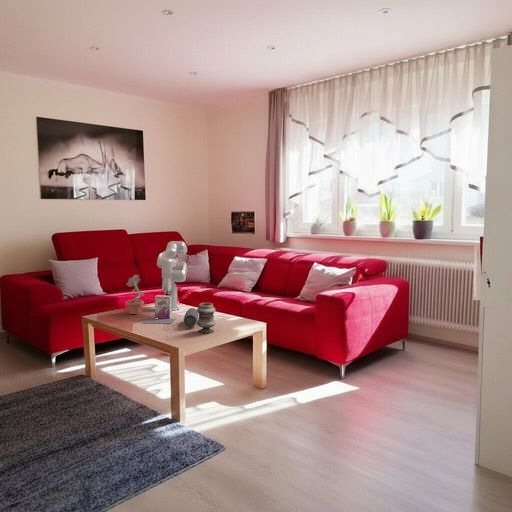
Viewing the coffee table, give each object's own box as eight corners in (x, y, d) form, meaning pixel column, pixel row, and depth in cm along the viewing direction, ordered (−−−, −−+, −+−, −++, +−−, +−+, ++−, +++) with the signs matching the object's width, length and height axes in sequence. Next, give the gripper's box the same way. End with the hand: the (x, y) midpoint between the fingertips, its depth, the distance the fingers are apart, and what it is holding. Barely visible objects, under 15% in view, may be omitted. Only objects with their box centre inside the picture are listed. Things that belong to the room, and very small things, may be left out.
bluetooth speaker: (197, 328, 299) (197, 314, 298) (183, 329, 298) (182, 314, 297) (199, 321, 321) (199, 307, 320) (185, 321, 320) (185, 307, 320)
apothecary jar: (195, 333, 286) (195, 305, 285) (198, 328, 298) (198, 302, 297) (214, 334, 286) (214, 305, 284) (216, 329, 298) (216, 302, 296)
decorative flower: (137, 311, 353) (136, 272, 350) (148, 313, 345) (148, 274, 342) (121, 314, 341) (120, 274, 338) (133, 316, 333) (132, 276, 330)
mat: (148, 318, 326) (148, 318, 326) (176, 319, 325) (176, 318, 325) (142, 323, 312) (142, 322, 312) (171, 324, 311) (171, 323, 311)
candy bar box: (154, 318, 327) (154, 296, 325) (157, 317, 332) (156, 295, 330) (169, 319, 326) (169, 296, 324) (171, 317, 331) (171, 295, 329)
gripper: (164, 274, 346) (164, 298, 347) (159, 277, 331) (159, 301, 332) (174, 274, 345) (174, 298, 347) (169, 277, 330) (169, 301, 332)
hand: (167, 299), depth 339 cm, fingers closed
